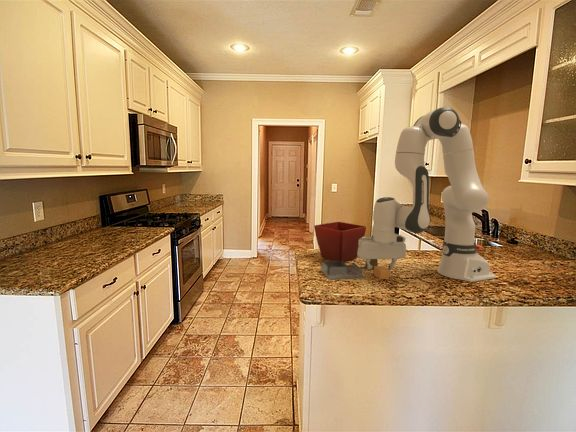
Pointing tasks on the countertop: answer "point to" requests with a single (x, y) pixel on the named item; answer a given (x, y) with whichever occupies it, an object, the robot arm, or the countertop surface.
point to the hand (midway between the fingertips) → (380, 268)
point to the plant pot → (339, 240)
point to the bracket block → (381, 272)
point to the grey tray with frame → (341, 270)
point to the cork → (372, 263)
